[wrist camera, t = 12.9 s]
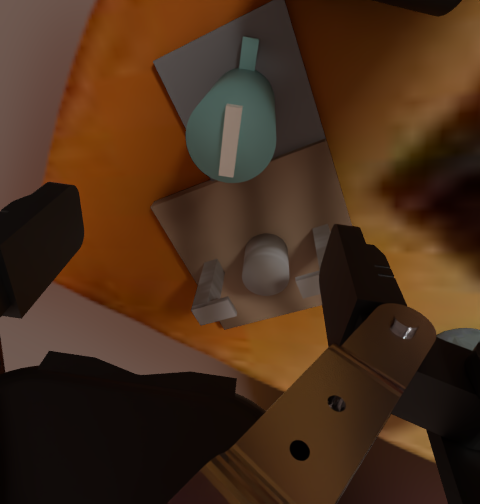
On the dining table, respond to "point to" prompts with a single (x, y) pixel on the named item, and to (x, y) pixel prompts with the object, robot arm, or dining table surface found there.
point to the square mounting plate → (257, 237)
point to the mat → (267, 63)
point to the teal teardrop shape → (235, 123)
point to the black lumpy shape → (425, 5)
